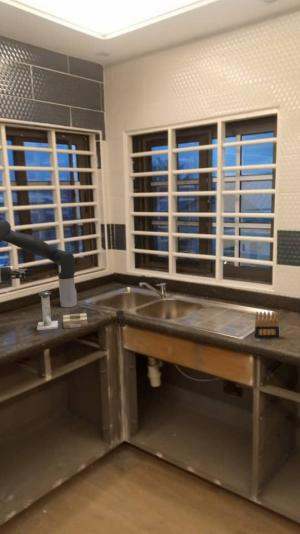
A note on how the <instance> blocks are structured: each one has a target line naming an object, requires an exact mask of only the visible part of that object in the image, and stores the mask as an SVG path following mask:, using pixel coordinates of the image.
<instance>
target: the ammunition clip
mask: <svg viewBox="0 0 300 534" xmlns="http://www.w3.org/2000/svg"><path fill="white" fill-rule="evenodd" d="M266 313H267V314H266ZM254 319H255V320H254V332H253V334H254V335H253V337H254V338H255V339H258V338H259V339H261V338H265V339H266V338H273V339H275V338H280V327H279V326H280V324H279V323H280V321H279V311H276V312H275V313H274V311H272V312H271V313H270V311H268V312H266V311H263V313H262V311H259V314H258V311H256V312H255V318H254Z"/></svg>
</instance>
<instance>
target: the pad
mask: <svg viewBox="0 0 300 534" xmlns="http://www.w3.org/2000/svg"><path fill="white" fill-rule="evenodd" d="M51 323H52V324H51V325H49V326H44V324H43V321H39V322H38V323H37V327H36V330H37V331H45V330H57V329H58V328H59V321H58V320H51Z"/></svg>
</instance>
